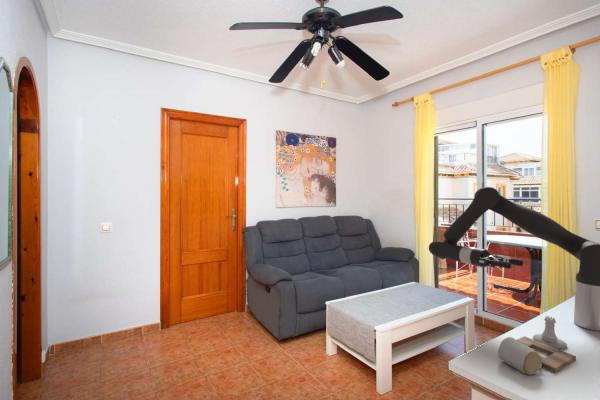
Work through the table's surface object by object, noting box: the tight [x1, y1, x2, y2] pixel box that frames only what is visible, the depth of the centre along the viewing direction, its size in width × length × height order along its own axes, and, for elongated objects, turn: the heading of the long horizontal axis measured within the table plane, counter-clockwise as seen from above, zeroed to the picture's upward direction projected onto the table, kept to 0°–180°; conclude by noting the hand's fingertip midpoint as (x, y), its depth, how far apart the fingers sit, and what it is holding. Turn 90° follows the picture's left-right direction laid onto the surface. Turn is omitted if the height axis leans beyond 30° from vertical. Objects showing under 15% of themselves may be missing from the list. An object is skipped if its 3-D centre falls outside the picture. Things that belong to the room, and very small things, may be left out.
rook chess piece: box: [540, 315, 558, 343], centre depth 103 cm, size 4×4×8 cm
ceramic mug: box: [497, 336, 542, 376], centre depth 88 cm, size 11×8×8 cm
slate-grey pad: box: [532, 333, 568, 351], centre depth 103 cm, size 9×9×1 cm
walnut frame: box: [516, 335, 577, 374], centre depth 95 cm, size 14×14×1 cm
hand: (516, 264), depth 112 cm, fingers open, 8 cm apart
